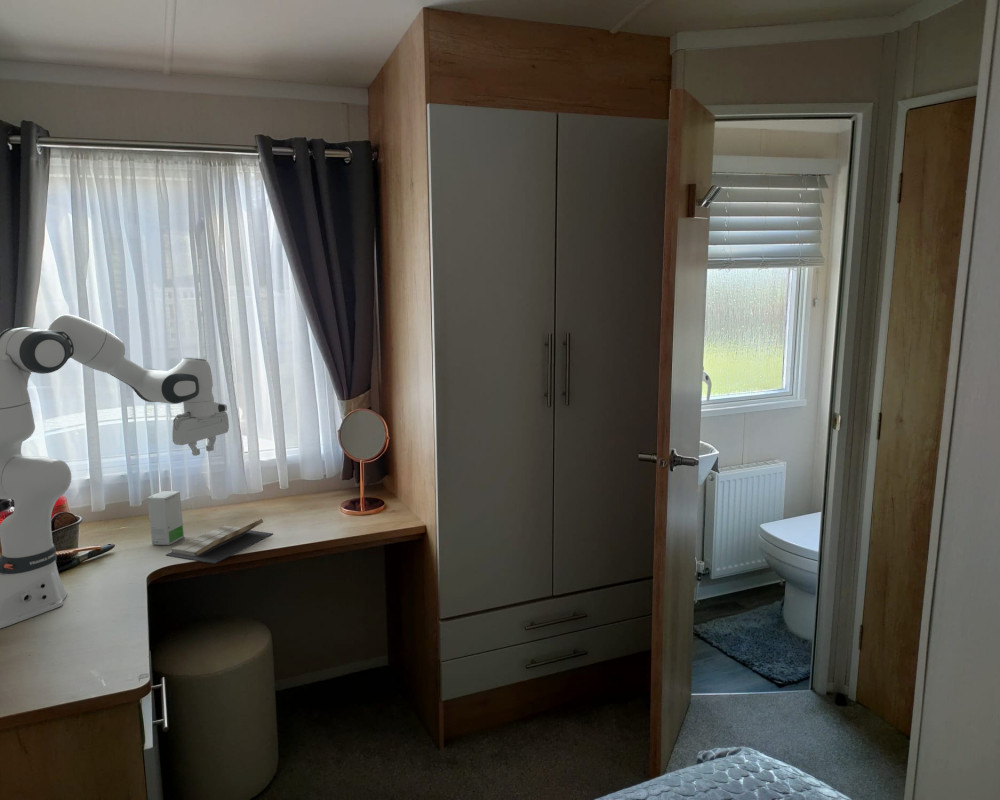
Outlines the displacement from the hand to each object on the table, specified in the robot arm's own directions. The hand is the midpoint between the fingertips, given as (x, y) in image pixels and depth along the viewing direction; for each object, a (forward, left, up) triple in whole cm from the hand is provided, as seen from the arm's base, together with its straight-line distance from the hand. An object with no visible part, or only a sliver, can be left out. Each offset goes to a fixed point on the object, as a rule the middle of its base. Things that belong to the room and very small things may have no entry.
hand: (203, 452), depth 225 cm
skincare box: (-4, +14, -29) cm, 33 cm away
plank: (-1, -9, -26) cm, 28 cm away
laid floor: (-1, 0, -29) cm, 29 cm away
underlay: (-1, -5, -29) cm, 30 cm away
